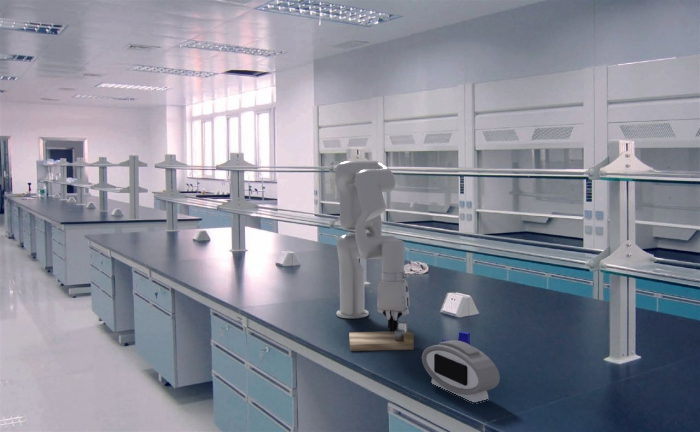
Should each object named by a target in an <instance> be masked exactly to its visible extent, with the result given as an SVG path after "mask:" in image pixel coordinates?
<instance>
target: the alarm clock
mask: <svg viewBox="0 0 700 432" xmlns="http://www.w3.org/2000/svg"><path fill="white" fill-rule="evenodd" d="M448 340H449V341H444V342H442V341H441V342H439V344H434V345H430V346H428V347H426V348H425V349H424V350H423V352H422V355H421V361H422V362H421V363H422V365H423V367H424V370H425V371H426V372H427V374H428V376H430V377H431V383H432V385H433V384H434V385H433V386H435V385H436V387H437V386H438V388H439V387H441V388H440V389H442V388H443V389H442V390H444V389H445V390H444V391H446V390H448V391H450V392H452V393H454V394H456V395H458V396H461V397H463V398H465V399H467V400H469V401H472V402H478V401H482V400H486V399H488V400H489V394H488V393H489V392H488V391H490V390H493V389H495V388H496V387H498V385H499V383H500V379H501V376H500V371H499V370H498V368H497V365H496V364H495V363H494V362H493V361H492V359H491V358H490V357H489V356H488V355H487V354H485V352H483V351H481V350H479V349H478V348H476V347H474V346H473V345H471V344H470V345H469V344H467V343H465V342H462V341H458V339H457V340H456V339H452V340H451V339H448ZM448 391H447V392H448ZM450 392H449V393H450ZM452 393H451V394H452ZM454 394H453V395H454ZM456 395H455V396H456ZM458 396H457V397H458ZM465 399H464V400H465ZM467 400H466V401H467ZM469 401H468V402H469Z"/></svg>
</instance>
